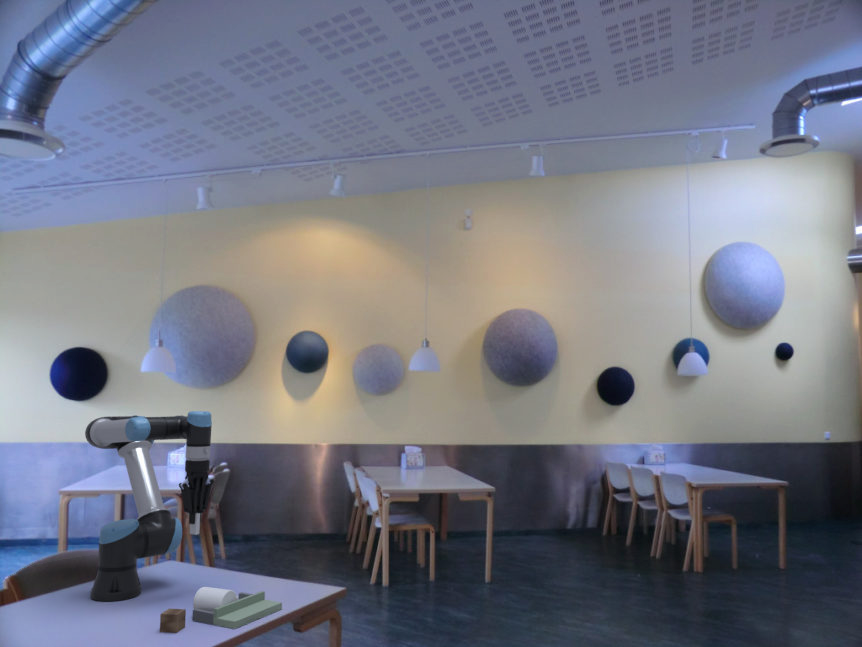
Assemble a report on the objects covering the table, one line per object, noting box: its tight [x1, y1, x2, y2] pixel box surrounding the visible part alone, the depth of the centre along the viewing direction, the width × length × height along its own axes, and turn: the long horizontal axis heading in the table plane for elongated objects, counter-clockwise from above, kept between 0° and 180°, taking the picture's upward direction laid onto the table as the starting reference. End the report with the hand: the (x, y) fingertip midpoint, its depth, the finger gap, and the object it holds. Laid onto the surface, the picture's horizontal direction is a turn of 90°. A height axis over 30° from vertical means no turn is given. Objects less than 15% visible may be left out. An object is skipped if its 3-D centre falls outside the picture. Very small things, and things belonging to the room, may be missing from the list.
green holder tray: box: [192, 590, 283, 630], centre depth 217 cm, size 16×21×4 cm
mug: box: [192, 586, 239, 612], centre depth 217 cm, size 12×10×8 cm
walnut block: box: [159, 608, 187, 634], centre depth 203 cm, size 5×5×5 cm
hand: (194, 533), depth 231 cm, fingers closed
